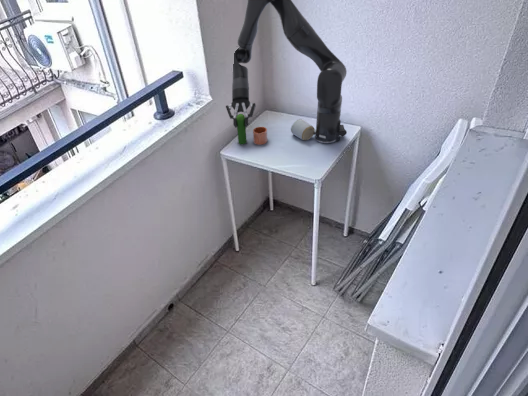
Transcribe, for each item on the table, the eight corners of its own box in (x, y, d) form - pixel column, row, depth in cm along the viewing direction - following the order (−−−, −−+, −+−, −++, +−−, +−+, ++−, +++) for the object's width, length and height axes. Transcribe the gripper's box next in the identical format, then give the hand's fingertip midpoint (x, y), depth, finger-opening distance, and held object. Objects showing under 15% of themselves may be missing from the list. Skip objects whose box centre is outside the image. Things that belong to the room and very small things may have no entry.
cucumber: (246, 140, 172) (244, 111, 162) (246, 144, 169) (244, 116, 159) (238, 140, 173) (236, 112, 163) (238, 145, 170) (235, 116, 160)
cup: (267, 138, 170) (266, 126, 166) (267, 145, 165) (266, 133, 161) (253, 139, 172) (253, 127, 168) (253, 146, 167) (252, 134, 163)
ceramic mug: (302, 143, 161) (303, 128, 156) (290, 136, 167) (290, 122, 162) (321, 135, 163) (322, 120, 158) (308, 128, 169) (309, 114, 164)
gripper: (223, 88, 162) (224, 125, 161) (255, 85, 159) (256, 123, 157) (226, 94, 170) (226, 129, 169) (256, 91, 166) (257, 127, 165)
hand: (240, 126), depth 163 cm, fingers closed on cucumber, 4 cm apart
